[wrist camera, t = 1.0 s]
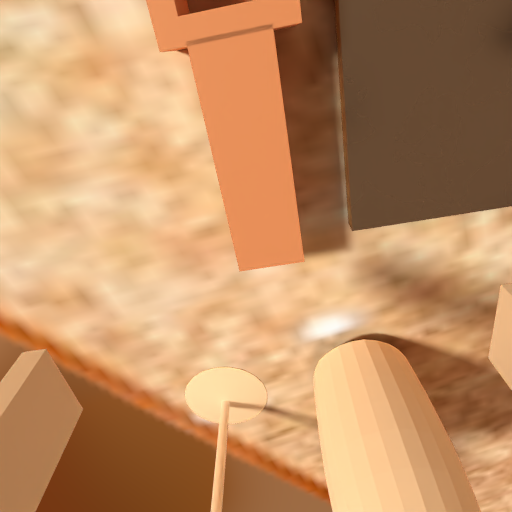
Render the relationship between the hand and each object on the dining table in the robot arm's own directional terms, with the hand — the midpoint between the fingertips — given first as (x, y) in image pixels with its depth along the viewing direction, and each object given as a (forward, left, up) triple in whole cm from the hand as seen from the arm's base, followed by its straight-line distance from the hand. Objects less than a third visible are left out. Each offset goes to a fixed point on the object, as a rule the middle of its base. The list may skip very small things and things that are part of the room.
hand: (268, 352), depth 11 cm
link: (-2, 0, -15) cm, 15 cm away
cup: (+17, +5, -16) cm, 24 cm away
